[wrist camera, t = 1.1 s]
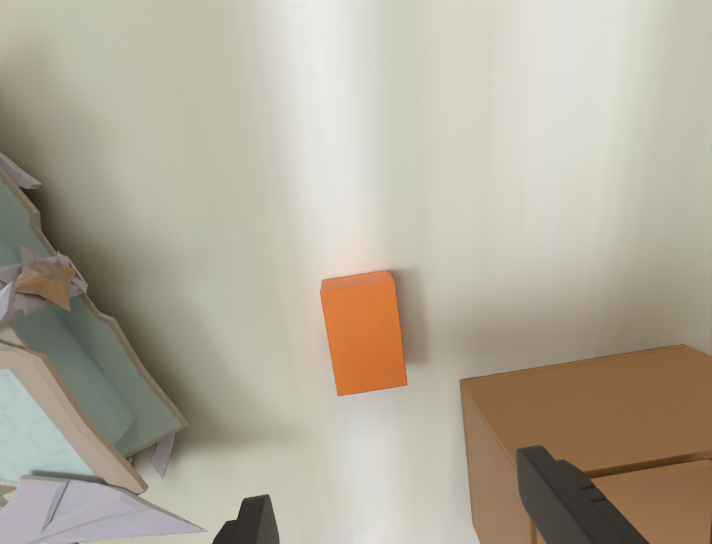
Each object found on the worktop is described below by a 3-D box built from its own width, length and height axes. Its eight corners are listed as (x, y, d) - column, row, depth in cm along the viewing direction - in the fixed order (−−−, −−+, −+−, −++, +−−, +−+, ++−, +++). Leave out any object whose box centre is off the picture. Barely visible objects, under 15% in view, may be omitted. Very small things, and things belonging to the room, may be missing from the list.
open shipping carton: (682, 343, 27) (895, 433, 16) (674, 489, 29) (852, 643, 19) (459, 379, 26) (537, 494, 16) (472, 524, 29) (545, 699, 19)
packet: (321, 279, 24) (319, 291, 21) (387, 269, 24) (394, 280, 21) (337, 374, 25) (337, 396, 23) (399, 363, 26) (407, 385, 23)
